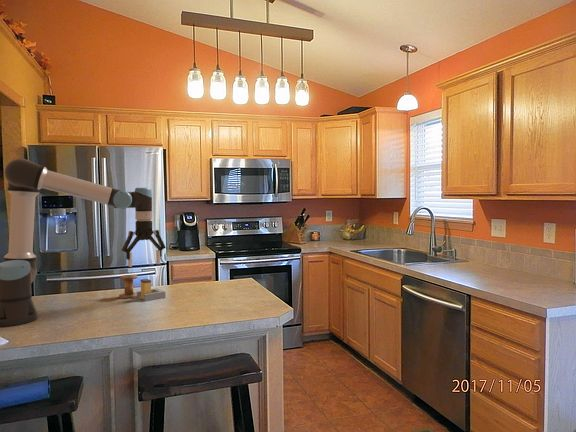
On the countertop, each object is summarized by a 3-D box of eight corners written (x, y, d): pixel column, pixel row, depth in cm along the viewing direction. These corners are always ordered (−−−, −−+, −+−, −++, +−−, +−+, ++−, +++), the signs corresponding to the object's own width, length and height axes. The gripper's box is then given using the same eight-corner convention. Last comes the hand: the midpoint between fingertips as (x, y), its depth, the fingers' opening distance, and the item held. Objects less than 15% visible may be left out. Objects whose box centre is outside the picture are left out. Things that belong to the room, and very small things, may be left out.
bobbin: (122, 299, 197) (122, 278, 196) (116, 296, 204) (115, 276, 203) (141, 296, 203) (141, 276, 202) (134, 293, 210) (134, 273, 209)
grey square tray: (145, 301, 193) (144, 294, 193) (137, 297, 201) (136, 291, 201) (165, 297, 200) (165, 291, 200) (157, 294, 207) (156, 288, 207)
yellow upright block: (145, 300, 196) (144, 281, 195) (141, 298, 199) (140, 279, 199) (151, 299, 198) (150, 280, 197) (147, 297, 201) (146, 278, 201)
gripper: (119, 221, 186) (120, 268, 187) (172, 219, 202) (172, 263, 203) (114, 220, 192) (114, 266, 192) (165, 219, 208) (166, 261, 209)
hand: (144, 265), depth 198 cm, fingers open, 13 cm apart
